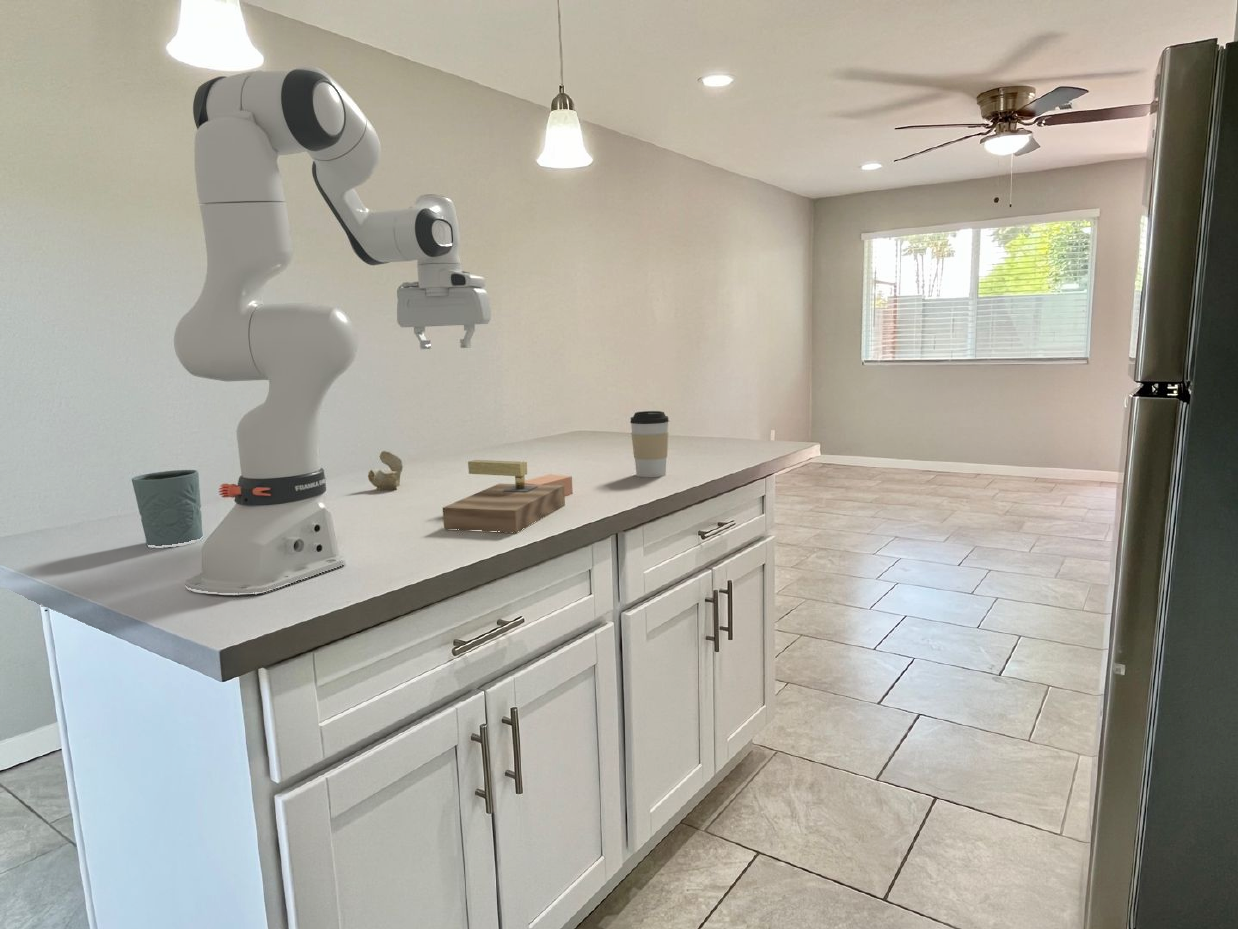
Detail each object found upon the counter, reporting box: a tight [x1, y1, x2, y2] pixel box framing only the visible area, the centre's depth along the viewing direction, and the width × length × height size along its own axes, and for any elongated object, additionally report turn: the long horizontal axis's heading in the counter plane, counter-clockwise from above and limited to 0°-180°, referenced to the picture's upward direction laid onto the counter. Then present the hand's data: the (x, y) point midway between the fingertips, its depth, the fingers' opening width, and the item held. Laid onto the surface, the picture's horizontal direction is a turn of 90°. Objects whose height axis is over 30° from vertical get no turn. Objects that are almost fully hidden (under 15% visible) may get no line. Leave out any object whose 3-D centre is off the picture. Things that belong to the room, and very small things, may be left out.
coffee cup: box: [630, 410, 670, 478], centre depth 182 cm, size 9×9×15 cm
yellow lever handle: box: [467, 459, 528, 488], centre depth 152 cm, size 12×2×5 cm, turn 65°
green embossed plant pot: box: [131, 469, 204, 546], centre depth 136 cm, size 10×10×12 cm
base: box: [442, 483, 566, 534], centre depth 146 cm, size 22×14×4 cm, turn 162°
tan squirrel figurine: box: [367, 450, 404, 491], centre depth 178 cm, size 9×6×10 cm
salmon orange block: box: [525, 473, 573, 497], centre depth 162 cm, size 10×6×4 cm, turn 144°
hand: (445, 348), depth 162 cm, fingers open, 8 cm apart
